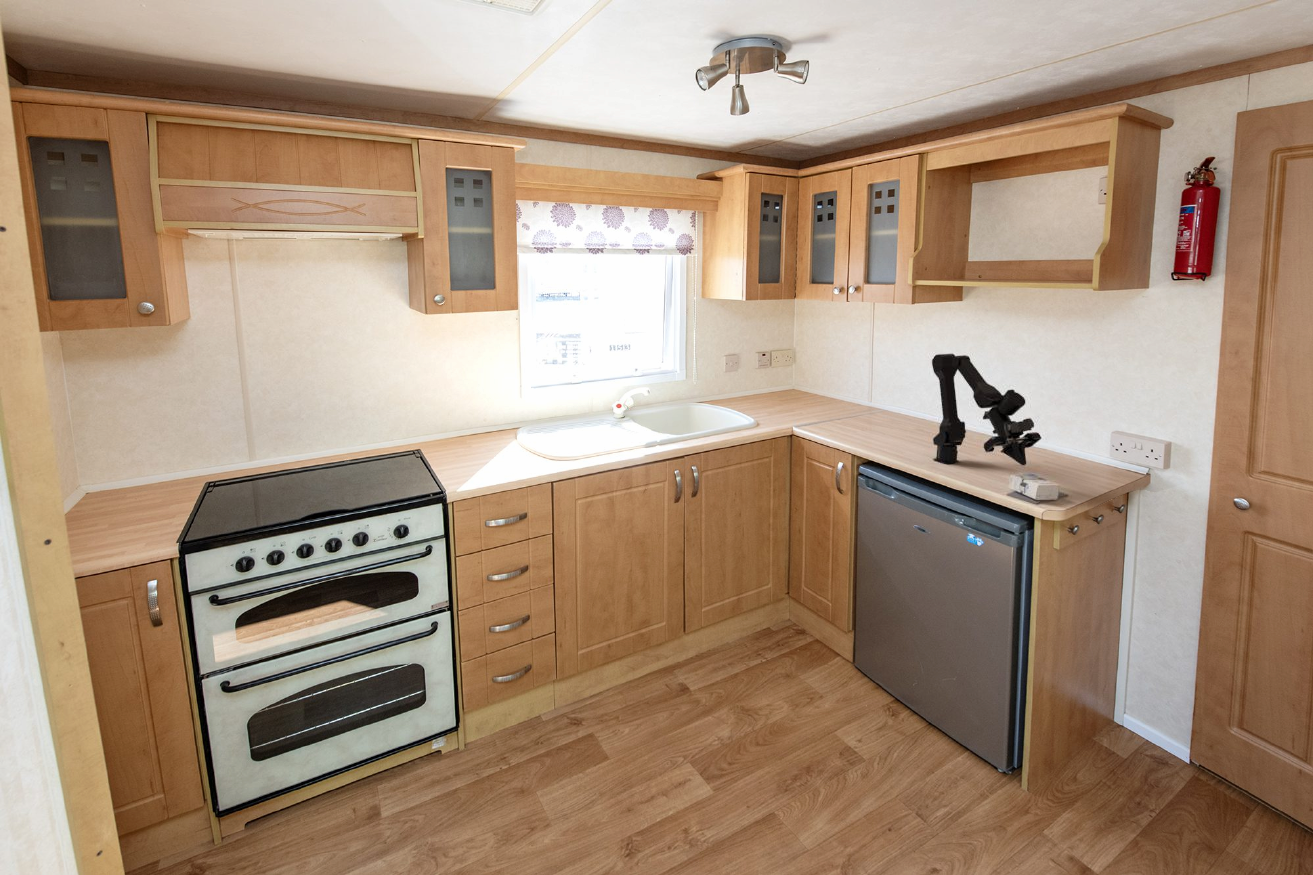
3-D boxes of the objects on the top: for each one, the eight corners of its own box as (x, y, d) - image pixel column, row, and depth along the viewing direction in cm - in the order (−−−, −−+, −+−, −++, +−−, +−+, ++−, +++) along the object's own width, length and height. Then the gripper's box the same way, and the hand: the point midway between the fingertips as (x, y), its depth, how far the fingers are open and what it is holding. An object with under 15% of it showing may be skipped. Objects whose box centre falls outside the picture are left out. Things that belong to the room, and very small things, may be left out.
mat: (1006, 494, 230) (1006, 493, 230) (1038, 487, 238) (1038, 485, 237) (1035, 504, 222) (1035, 503, 222) (1068, 495, 229) (1068, 494, 229)
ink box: (1032, 473, 235) (1061, 483, 224) (1029, 488, 236) (1058, 499, 225) (1010, 474, 232) (1038, 484, 221) (1007, 489, 234) (1035, 500, 223)
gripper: (993, 412, 230) (1017, 454, 222) (1040, 407, 235) (1064, 449, 228) (973, 430, 239) (995, 472, 231) (1018, 426, 244) (1041, 466, 237)
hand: (1024, 464), depth 232 cm, fingers closed
